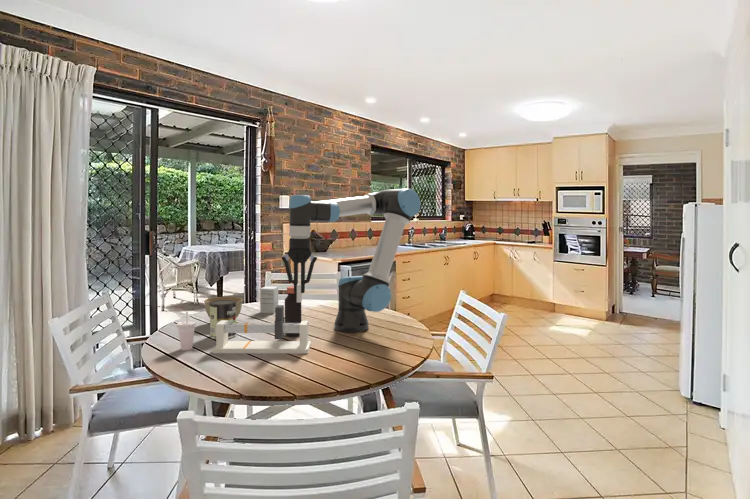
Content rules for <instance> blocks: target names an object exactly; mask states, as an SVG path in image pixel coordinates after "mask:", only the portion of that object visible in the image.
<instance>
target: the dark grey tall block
mask: <svg viewBox="0 0 750 499" xmlns="http://www.w3.org/2000/svg"><path fill="white" fill-rule="evenodd" d="M274 314H275V315H274V316H275V317H274V323H275V333H274V340H282V339H283V337H284V336H285V333H282V324H283V323H285V304H278V305H277V306H276V307H275V313H274Z"/></svg>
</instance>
